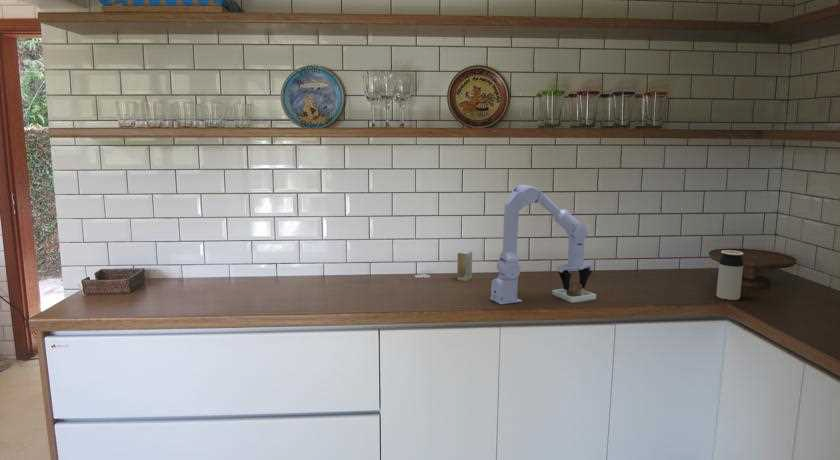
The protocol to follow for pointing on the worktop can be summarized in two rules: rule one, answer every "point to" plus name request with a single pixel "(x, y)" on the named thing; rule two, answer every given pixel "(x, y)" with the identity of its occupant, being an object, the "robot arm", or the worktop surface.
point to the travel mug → (730, 275)
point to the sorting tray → (585, 297)
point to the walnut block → (574, 289)
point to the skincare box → (464, 265)
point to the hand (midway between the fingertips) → (574, 288)
